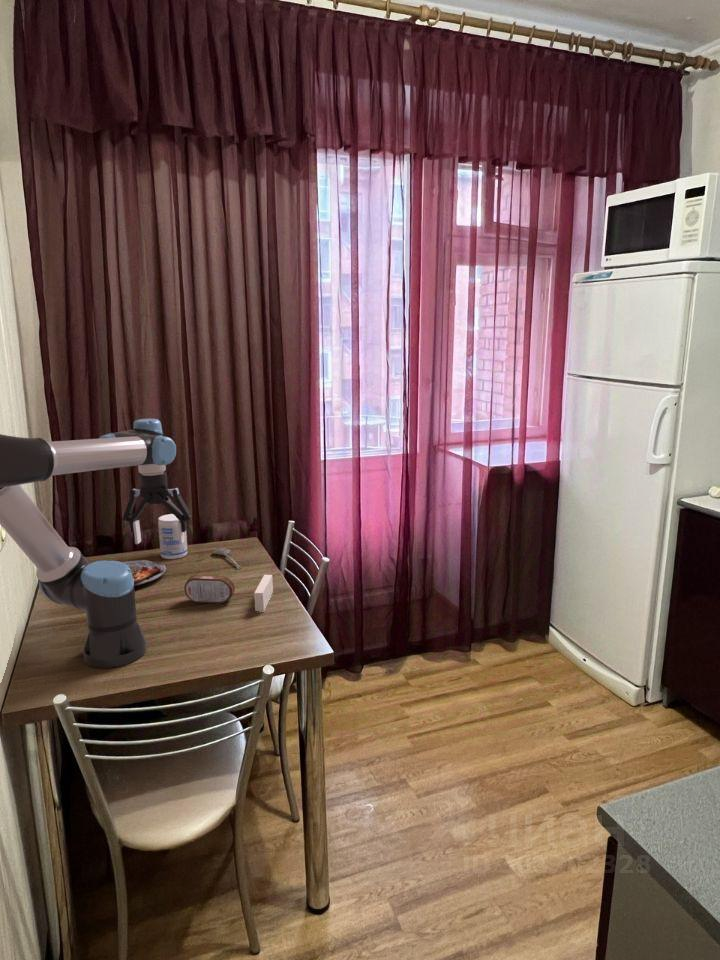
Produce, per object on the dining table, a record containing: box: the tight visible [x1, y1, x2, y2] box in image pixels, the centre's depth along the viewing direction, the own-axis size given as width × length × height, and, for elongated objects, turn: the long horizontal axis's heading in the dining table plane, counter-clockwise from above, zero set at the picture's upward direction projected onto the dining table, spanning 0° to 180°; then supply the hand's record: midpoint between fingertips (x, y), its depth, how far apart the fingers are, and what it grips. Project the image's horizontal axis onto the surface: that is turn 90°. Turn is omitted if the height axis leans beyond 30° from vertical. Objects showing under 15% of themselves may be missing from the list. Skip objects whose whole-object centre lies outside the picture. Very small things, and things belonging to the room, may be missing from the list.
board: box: [253, 574, 274, 613], centre depth 190 cm, size 14×2×6 cm, turn 177°
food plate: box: [121, 559, 168, 587], centre depth 211 cm, size 25×23×4 cm
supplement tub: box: [157, 513, 188, 560], centre depth 231 cm, size 10×10×15 cm
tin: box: [183, 574, 235, 604], centre depth 191 cm, size 15×3×8 cm, turn 84°
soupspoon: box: [211, 547, 242, 570], centre depth 227 cm, size 22×3×7 cm
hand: (160, 542), depth 189 cm, fingers open, 12 cm apart
